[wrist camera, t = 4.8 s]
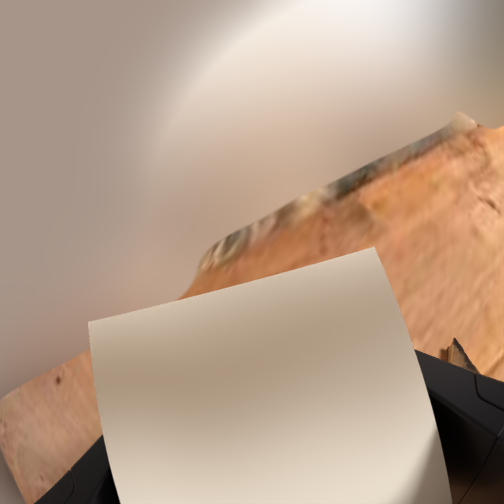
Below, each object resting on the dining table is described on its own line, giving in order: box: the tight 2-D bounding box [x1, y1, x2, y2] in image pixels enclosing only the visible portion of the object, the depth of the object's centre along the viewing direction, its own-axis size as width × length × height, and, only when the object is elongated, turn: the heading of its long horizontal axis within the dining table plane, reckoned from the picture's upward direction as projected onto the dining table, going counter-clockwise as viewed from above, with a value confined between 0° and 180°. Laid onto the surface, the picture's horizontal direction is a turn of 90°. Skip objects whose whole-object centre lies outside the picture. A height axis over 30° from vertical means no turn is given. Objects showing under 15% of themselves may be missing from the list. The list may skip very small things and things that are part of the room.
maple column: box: [88, 247, 452, 504], centre depth 9 cm, size 6×6×10 cm
